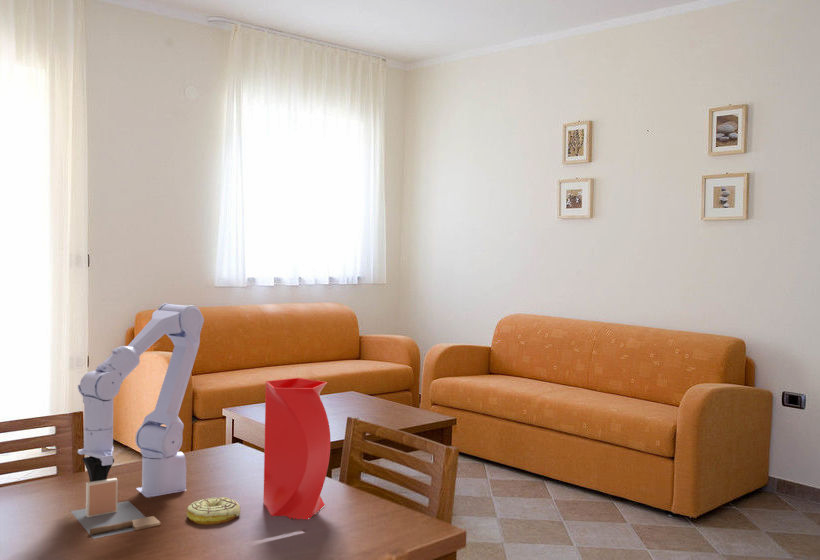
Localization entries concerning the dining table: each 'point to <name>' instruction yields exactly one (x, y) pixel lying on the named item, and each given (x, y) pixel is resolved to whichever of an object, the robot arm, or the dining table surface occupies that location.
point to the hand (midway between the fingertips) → (97, 490)
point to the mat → (109, 519)
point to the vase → (295, 447)
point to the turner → (127, 525)
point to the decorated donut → (213, 510)
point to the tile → (101, 497)
